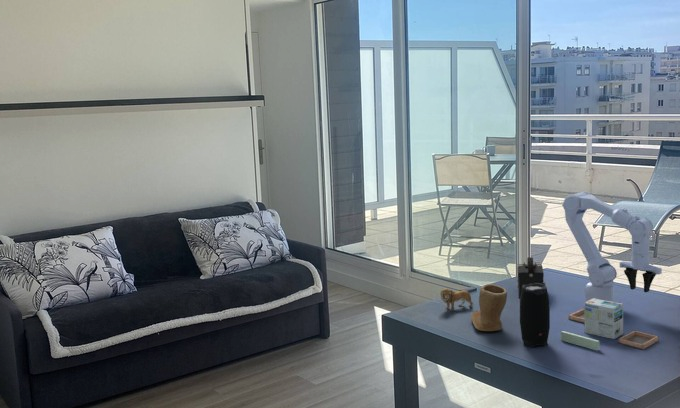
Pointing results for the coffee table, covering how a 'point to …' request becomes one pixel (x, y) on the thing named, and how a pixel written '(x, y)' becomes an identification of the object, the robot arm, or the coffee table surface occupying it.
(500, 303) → the tan boot
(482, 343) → the coffee table surface
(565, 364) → the coffee table surface
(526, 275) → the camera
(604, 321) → the light bulb box
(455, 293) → the lion figurine
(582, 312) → the square frames and block
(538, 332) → the portable speaker
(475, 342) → the coffee table surface
